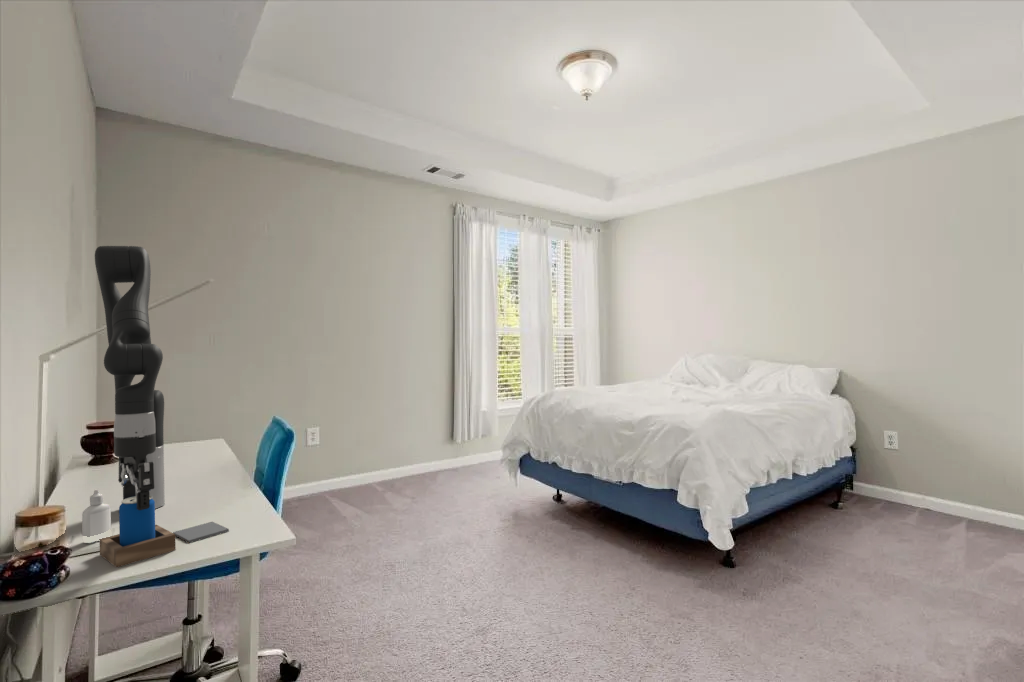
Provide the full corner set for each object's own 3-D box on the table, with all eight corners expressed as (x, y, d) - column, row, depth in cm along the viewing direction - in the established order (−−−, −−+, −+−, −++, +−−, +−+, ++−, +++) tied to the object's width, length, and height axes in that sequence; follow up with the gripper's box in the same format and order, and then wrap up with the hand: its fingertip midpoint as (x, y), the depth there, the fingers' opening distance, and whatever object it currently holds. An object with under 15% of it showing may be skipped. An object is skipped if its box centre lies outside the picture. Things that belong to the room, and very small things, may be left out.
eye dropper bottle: (113, 538, 125) (113, 488, 125) (84, 545, 121) (83, 494, 121) (109, 534, 128) (108, 485, 128) (80, 541, 124) (79, 490, 124)
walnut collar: (99, 554, 115) (99, 539, 115) (156, 539, 124) (156, 524, 124) (116, 567, 109) (116, 550, 109) (175, 549, 118) (175, 534, 118)
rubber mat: (173, 534, 127) (173, 532, 127) (212, 523, 134) (212, 521, 134) (188, 542, 122) (188, 540, 122) (228, 531, 129) (228, 528, 129)
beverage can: (150, 544, 121) (149, 492, 121) (159, 551, 117) (158, 498, 117) (116, 553, 116) (115, 499, 116) (124, 561, 112) (123, 505, 112)
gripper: (104, 432, 118) (105, 504, 118) (126, 438, 109) (127, 516, 109) (143, 428, 124) (144, 496, 124) (166, 433, 115) (167, 506, 115)
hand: (136, 505), depth 116 cm, fingers open, 8 cm apart
